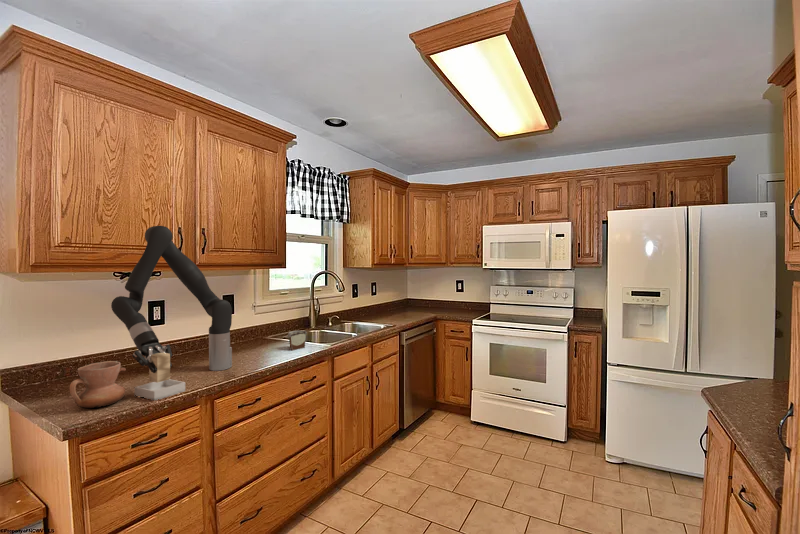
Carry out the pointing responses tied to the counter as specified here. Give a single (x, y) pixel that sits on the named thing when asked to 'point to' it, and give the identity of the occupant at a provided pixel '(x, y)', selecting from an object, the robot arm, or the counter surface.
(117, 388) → the ceramic jug
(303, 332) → the food container
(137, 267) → the robot arm
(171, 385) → the tray
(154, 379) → the block
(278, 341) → the counter surface
